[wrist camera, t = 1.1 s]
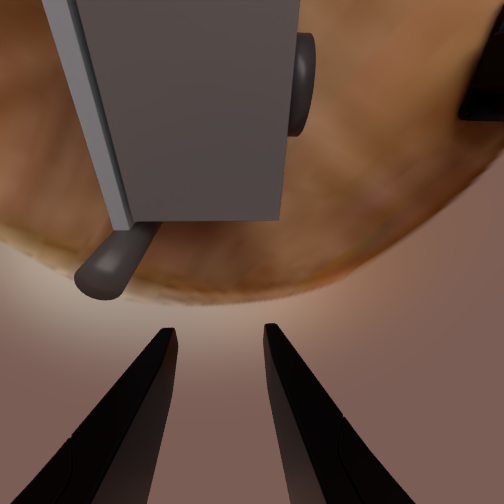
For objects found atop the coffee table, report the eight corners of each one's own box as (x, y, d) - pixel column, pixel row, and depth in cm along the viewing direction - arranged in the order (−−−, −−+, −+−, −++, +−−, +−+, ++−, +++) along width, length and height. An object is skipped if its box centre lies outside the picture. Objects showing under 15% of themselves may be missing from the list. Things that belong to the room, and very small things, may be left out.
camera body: (303, -107, 11) (383, -335, 5) (278, 183, 19) (300, 220, 13) (113, -128, 11) (-32, -415, 5) (165, 183, 18) (133, 221, 12)
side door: (114, -134, 10) (-304, -994, 2) (171, 216, 19) (128, 299, 11) (65, -140, 10) (-575, -1092, 2) (146, 216, 19) (83, 301, 11)
